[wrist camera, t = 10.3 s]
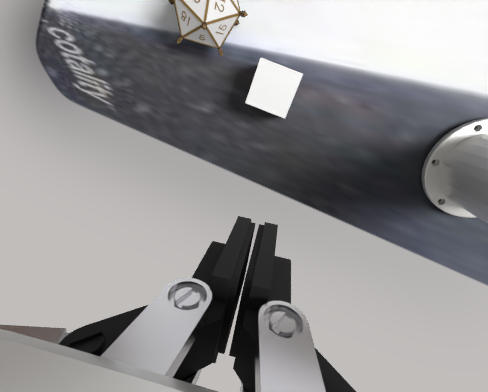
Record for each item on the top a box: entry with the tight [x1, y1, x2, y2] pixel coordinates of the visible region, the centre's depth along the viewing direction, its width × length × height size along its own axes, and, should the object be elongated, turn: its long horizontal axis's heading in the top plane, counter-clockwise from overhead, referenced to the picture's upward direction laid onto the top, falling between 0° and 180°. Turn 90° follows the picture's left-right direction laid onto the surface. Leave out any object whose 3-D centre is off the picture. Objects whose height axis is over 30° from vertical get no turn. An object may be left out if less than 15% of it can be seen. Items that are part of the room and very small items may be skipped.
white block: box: [245, 58, 303, 119], centre depth 31 cm, size 5×5×5 cm
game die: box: [168, 0, 248, 56], centre depth 28 cm, size 9×8×10 cm
